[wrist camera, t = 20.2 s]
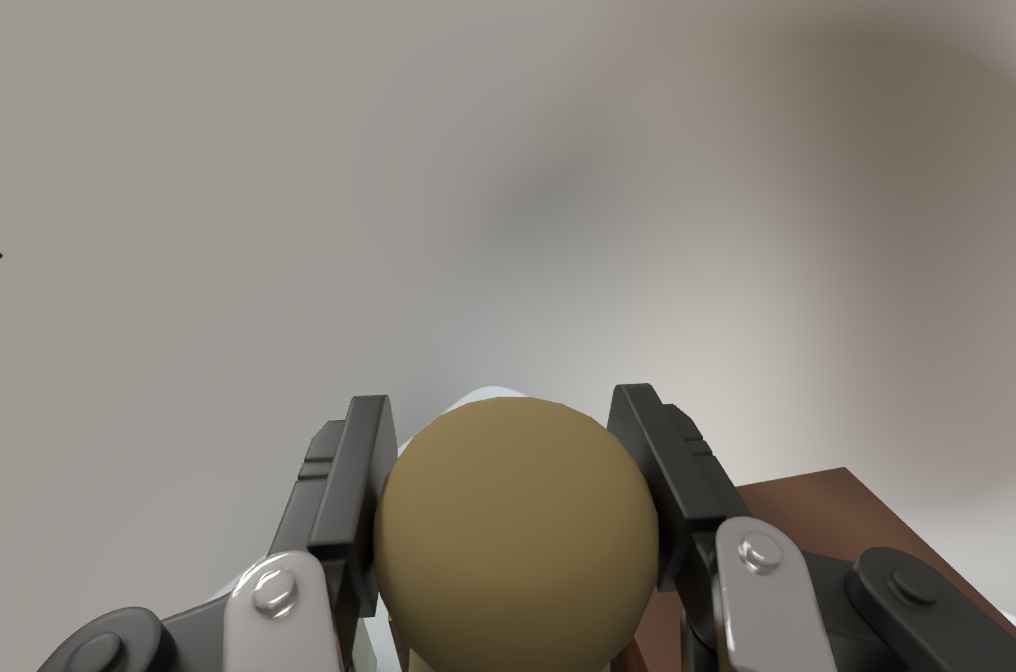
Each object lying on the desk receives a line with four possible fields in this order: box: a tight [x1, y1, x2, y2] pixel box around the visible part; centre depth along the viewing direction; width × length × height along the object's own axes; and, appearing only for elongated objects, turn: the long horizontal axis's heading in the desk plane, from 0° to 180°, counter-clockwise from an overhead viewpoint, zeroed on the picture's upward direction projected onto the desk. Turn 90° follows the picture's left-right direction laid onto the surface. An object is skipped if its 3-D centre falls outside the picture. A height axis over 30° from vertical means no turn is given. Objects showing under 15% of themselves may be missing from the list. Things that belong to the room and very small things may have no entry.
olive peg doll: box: [372, 397, 659, 672], centre depth 10 cm, size 6×6×11 cm
